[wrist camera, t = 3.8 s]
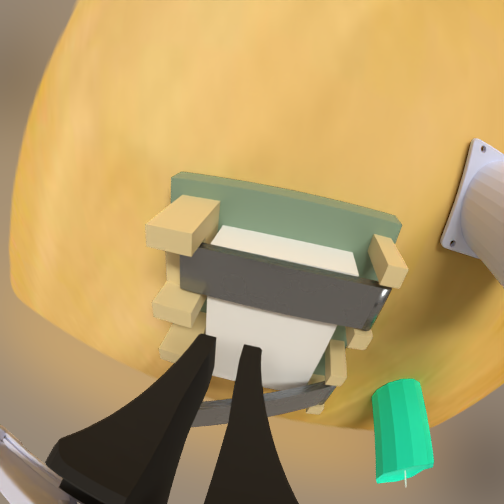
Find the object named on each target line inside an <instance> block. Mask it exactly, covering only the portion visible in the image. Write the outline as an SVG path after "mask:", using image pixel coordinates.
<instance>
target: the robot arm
mask: <svg viewBox="0 0 504 504" xmlns="http://www.w3.org/2000/svg"><path fill="white" fill-rule="evenodd" d="M482 146H483V151H481V147H482ZM452 240H453V243H452V244H450V242H451V241H452ZM440 243H441V245H442V246H443V247H444V248H446V249H450V250H453V251H456V252H459V253H462V254H466V255H469V256H472V257H475V258H478V259H480V260H481V261H482V262H483V263H484V264H485V265H486V267H487V268H488V269H489V270H490V271H491V273H492V274H493V275H494V276H495V278H496V279H497V280H498V281H499V283H500V284H501V285H502V286H503V288H504V154H503V153H501V152H499V151H498V150H496V149H495V148H493V147H492V146H490V145H488V144H487V143H485V142H484V141H482V140H480V139H477V138H474V139H473V140H472V141H471V144H470V149H469V153H468V157H467V161H466V165H465V169H464V172H463V176H462V179H461V183H460V186H459V189H458V192H457V196H456V199H455V202H454V204H453V207H452V210H451V213H450V216H449V218H448V221H447V224H446V226H445V229H444V231H443V234H442V236H441V239H440ZM216 338H217V337H214V336H210V335H206V334H202V333H201V334H199V335H198V336H197V337H196V339H195V340H194V341H193V343H192V344H191V345H190V346H189V348H188V349H187V350H186V351H185V352H184V353H183V355H182V356H181V357H180V358H179V359H178V360H177V361H176V362H175V363H174V364H173V365H172V366H171V367H170V368H169V369H168V370H167V371H166V372H165V373H164V374H163V375H162V376H161V377H160V378H159V379H158V380H157V381H156V382H155V383H153V384H152V385H151V386H150V387H149V388H148V389H147V390H146V391H144V392H143V393H142V394H140V395H139V396H138V397H137V398H135V399H134V400H132V401H131V402H130V403H128V404H127V405H126V406H124V407H122V408H121V409H120V410H118V411H116V412H115V413H113V414H112V415H110V416H108V417H106V418H105V419H103V420H101V421H99V422H97V423H95V424H93V425H91V426H89V427H88V428H85V429H83V430H81V431H78V432H76V433H73V434H71V435H68V436H66V437H63V438H61V439H59V441H58V442H57V443H56V445H55V446H54V447H53V449H52V451H51V453H50V454H49V457H48V458H47V460H46V462H45V463H46V464H45V463H43V462H42V461H41V460H39V459H38V458H37V457H36V456H34V455H33V454H32V453H31V452H29V451H28V450H27V449H26V448H25V447H24V446H23V444H22V443H21V442H20V441H19V440H17V438H16V437H15V436H13V435H12V434H11V433H10V432H9V431H8V430H7V429H6V428H4V427H3V426H1V425H0V491H1V493H2V494H3V495H4V496H5V497H6V499H7V500H8V501H9V503H10V504H77V502H79V503H80V504H167V502H168V498H169V494H170V490H171V487H172V483H173V480H174V476H175V473H176V469H177V466H178V463H179V459H180V456H181V453H182V450H183V447H184V444H185V441H186V438H187V435H188V433H189V430H190V428H191V426H192V424H193V421H194V419H195V417H196V415H197V412H198V410H199V408H200V406H201V403H202V401H203V399H204V396H205V394H206V392H207V389H208V386H209V383H210V380H211V377H212V373H213V370H214V366H215V351H216ZM261 355H262V349H261V348H260V347H255V346H251V345H246V344H244V346H243V349H242V352H241V356H240V359H239V364H238V369H237V375H236V380H235V385H234V391H233V396H232V402H231V408H230V414H229V421H228V426H227V429H226V433H225V436H224V440H223V443H222V446H221V450H220V454H219V457H218V460H217V463H216V467H215V470H214V473H213V477H212V480H211V483H210V486H209V489H208V493H207V496H206V499H205V502H204V504H299V503H298V501H297V499H296V498H295V496H294V493H293V491H292V489H291V487H290V485H289V483H288V480H287V478H286V475H285V473H284V471H283V468H282V465H281V463H280V460H279V457H278V454H277V451H276V448H275V445H274V442H273V438H272V435H271V431H270V426H269V422H268V417H267V413H266V407H265V401H264V394H263V387H262V374H261Z"/></svg>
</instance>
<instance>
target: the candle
mask: <svg viewBox="0 0 504 504" xmlns="http://www.w3.org/2000/svg"><path fill="white" fill-rule="evenodd" d="M372 406H373V418H374V432H375V450H376V481H377V483H385V482H395V481H400V480H403V479H405V487H406V479H407V478H410V477H412V476H414V475H416V474H417V473H419V472H421V471H422V470H424V469H428V468H432V467H433V464H434V458H433V450H432V443H431V436H430V430H429V424H428V419H427V413H426V408H425V404H424V399H423V394H422V390H421V386H420V382H418V381H416V380H415V379H400V380H397V381H393V382H390V383H387V384H386V385H384V386H382V387H381V388H379V389H377V390H376V392H375V393H374V394H373V396H372Z"/></svg>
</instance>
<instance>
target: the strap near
mask: <svg viewBox="0 0 504 504" xmlns="http://www.w3.org/2000/svg"><path fill="white" fill-rule="evenodd" d="M180 288H181V289H184V290H188V291H192V292H195V293H199V294H203V295H207V296H210V297H214V298H218V299H222V300H226V301H230V302H234V303H238V304H242V305H246V306H251V307H255V308H259V309H263V310H268V311H272V312H277V313H281V314H286V315H291V316H295V317H300V318H305V319H310V320H315V321H320V322H325V323H330V324H335V325H341V326H346V327H352V328H357V329H362V330H364V331H370V330H371V328H372V326H373V324H374V322H375V321H376V319H377V317H378V315H379V313H380V311H381V309H382V307H383V306H384V304H385V302H386V300H387V298H388V296H389V294H390V292H391V290H392V287H388V286H383V285H380V284H379V281H375V280H370V279H366V278H361V277H357V276H352V275H347V274H343V273H338V272H334V271H329V270H325V269H320V268H316V267H311V266H307V265H302V264H298V263H293V262H289V261H284V260H280V259H275V258H271V257H266V256H262V255H257V254H253V253H248V252H244V251H239V250H235V249H230V248H226V247H221V246H217V245H212V244H208V243H203V242H202V243H201V244H200V246H199V247H198V248H197V250H196V251H195V253H194V254H193V255H192V257H190V256H185V255H181V254H180Z"/></svg>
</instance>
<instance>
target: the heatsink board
mask: <svg viewBox="0 0 504 504" xmlns="http://www.w3.org/2000/svg"><path fill="white" fill-rule="evenodd" d="M401 227H402V224H401V223H400V221H399V220H398V219H397V218H396V216H394V215H391V214H387V213H384V212H380V211H377V210H373V209H369V208H365V207H362V206H358V205H354V204H350V203H346V202H342V201H338V200H334V199H329V198H325V197H321V196H316V195H312V194H307V193H303V192H298V191H293V190H288V189H283V188H278V187H273V186H268V185H263V184H257V183H252V182H246V181H240V180H235V179H228V178H222V177H216V176H209V175H202V174H195V173H188V172H180V173H178V174H176V175H175V176H173V177H171V204H170V205H169V206H167V207H166V208H165V209H164V210H162V211H161V212H160V213H158V214H157V215H156V216H155V217H154V218H152V219H151V220H150V221H149V222H147V223H146V224H145V230H146V247H151V248H155V249H159V250H163V251H165V252H166V275H167V282H166V283H165V284H164V286H163V287H162V288H161V290H160V291H159V293H158V294H157V295H156V297H155V298H154V300H153V301H152V308H153V315H154V317H155V318H158V319H162V320H165V321H168V322H171V323H173V324H172V326H171V327H170V329H169V331H168V333H167V334H166V336H165V338H164V340H163V342H162V343H161V345H160V347H159V353H160V358H161V359H163V360H166V361H169V362H172V363H175V362H176V361H177V360H178V359H179V358H180V357H181V356H182V355H183V353H184V352H185V351H186V350H187V349H188V348H189V346H190V345H191V344H192V343H193V341H194V340H195V339H196V337H197V336H198V335H199V334H201V333H202V334H206V335H210V336H214V337H217V338H216V351H215V366H214V370H213V373H212V375H213V376H217V377H220V378H224V379H228V380H233V381H235V380H236V375H237V369H238V364H239V359H240V356H241V352H242V349H243V346H244V344H246V345H251V346H255V347H260V348H261V349H262V355H261V374H262V387H265V388H270V389H275V390H281V391H282V390H287V389H292V388H297V387H301V386H306V385H310V384H314V383H318V382H322V381H325V385H333V386H341V385H342V384H343V383H344V381H345V380H346V378H347V368H346V355H345V348H346V346H347V348H352V349H360V350H365V349H366V348H367V346H368V345H369V343H370V341H371V340H372V338H373V334H372V330H370V331H364V330H362V329H357V328H352V327H346V326H341V325H335V324H330V323H325V322H320V321H315V320H310V319H305V318H300V317H295V316H291V315H286V314H281V313H277V312H272V311H268V310H263V309H259V308H255V307H251V306H246V305H242V304H238V303H234V302H230V301H226V300H222V299H218V298H214V297H210V296H207V295H203V294H199V293H195V292H192V291H188V290H184V289H181V288H180V254H181V255H185V256H190V257H192V255H193V254H194V253H195V251H196V250H197V248H198V247H199V246H200V244H201V243H202V242H203V243H208V244H212V245H217V246H221V247H226V248H230V249H235V250H239V251H244V252H248V253H253V254H257V255H262V256H266V257H271V258H275V259H280V260H284V261H289V262H293V263H298V264H302V265H307V266H311V267H316V268H320V269H325V270H329V271H334V272H338V273H343V274H347V275H352V276H357V277H361V278H366V279H370V280H375V281H379V284H380V285H383V286H388V287H393V288H398V289H400V287H401V285H402V283H403V281H404V278H405V276H406V274H407V272H408V270H409V269H408V267H407V265H406V264H405V262H404V260H403V258H402V256H401V255H400V253H399V251H398V249H397V248H396V246H395V243H396V240H397V237H398V235H399V232H400V229H401ZM323 409H324V404H323V405H316V406H312V407H308V408H306V413H310V414H320V413H321V412H322V411H323Z"/></svg>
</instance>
